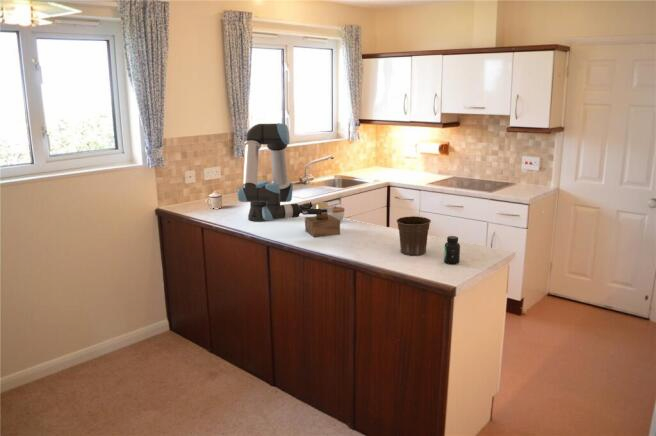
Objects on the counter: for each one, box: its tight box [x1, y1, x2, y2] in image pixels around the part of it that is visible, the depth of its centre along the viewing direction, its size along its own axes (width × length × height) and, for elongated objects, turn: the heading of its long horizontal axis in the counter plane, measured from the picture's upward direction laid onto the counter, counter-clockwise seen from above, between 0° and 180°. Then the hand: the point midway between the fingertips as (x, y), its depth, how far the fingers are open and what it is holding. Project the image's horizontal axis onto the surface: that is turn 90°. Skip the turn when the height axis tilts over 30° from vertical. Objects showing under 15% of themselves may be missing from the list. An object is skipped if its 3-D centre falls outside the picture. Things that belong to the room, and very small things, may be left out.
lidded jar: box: [328, 205, 345, 223], centre depth 324 cm, size 11×11×9 cm
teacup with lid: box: [205, 190, 223, 209], centre depth 365 cm, size 12×9×12 cm
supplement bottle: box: [443, 235, 461, 266], centre depth 245 cm, size 7×7×12 cm
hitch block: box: [304, 215, 341, 238], centre depth 299 cm, size 15×15×8 cm
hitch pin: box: [315, 201, 329, 220], centre depth 298 cm, size 6×6×16 cm
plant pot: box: [396, 216, 432, 257], centre depth 260 cm, size 16×16×16 cm
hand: (327, 207), depth 298 cm, fingers open, 13 cm apart
